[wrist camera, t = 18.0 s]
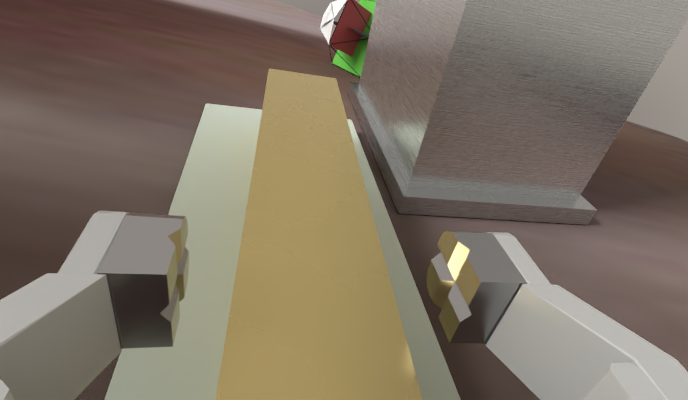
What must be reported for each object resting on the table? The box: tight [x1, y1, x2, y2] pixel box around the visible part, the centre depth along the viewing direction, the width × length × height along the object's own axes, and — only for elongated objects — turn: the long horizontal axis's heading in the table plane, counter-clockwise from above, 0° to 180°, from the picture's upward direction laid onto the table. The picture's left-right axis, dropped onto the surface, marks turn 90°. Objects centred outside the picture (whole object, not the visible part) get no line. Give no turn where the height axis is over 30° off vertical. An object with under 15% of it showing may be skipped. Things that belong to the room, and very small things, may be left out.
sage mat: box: [104, 104, 461, 400], centre depth 16 cm, size 22×9×1 cm, turn 9°
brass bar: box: [216, 69, 422, 400], centre depth 14 cm, size 19×4×4 cm, turn 6°
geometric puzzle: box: [320, 0, 376, 78], centre depth 37 cm, size 7×7×8 cm
